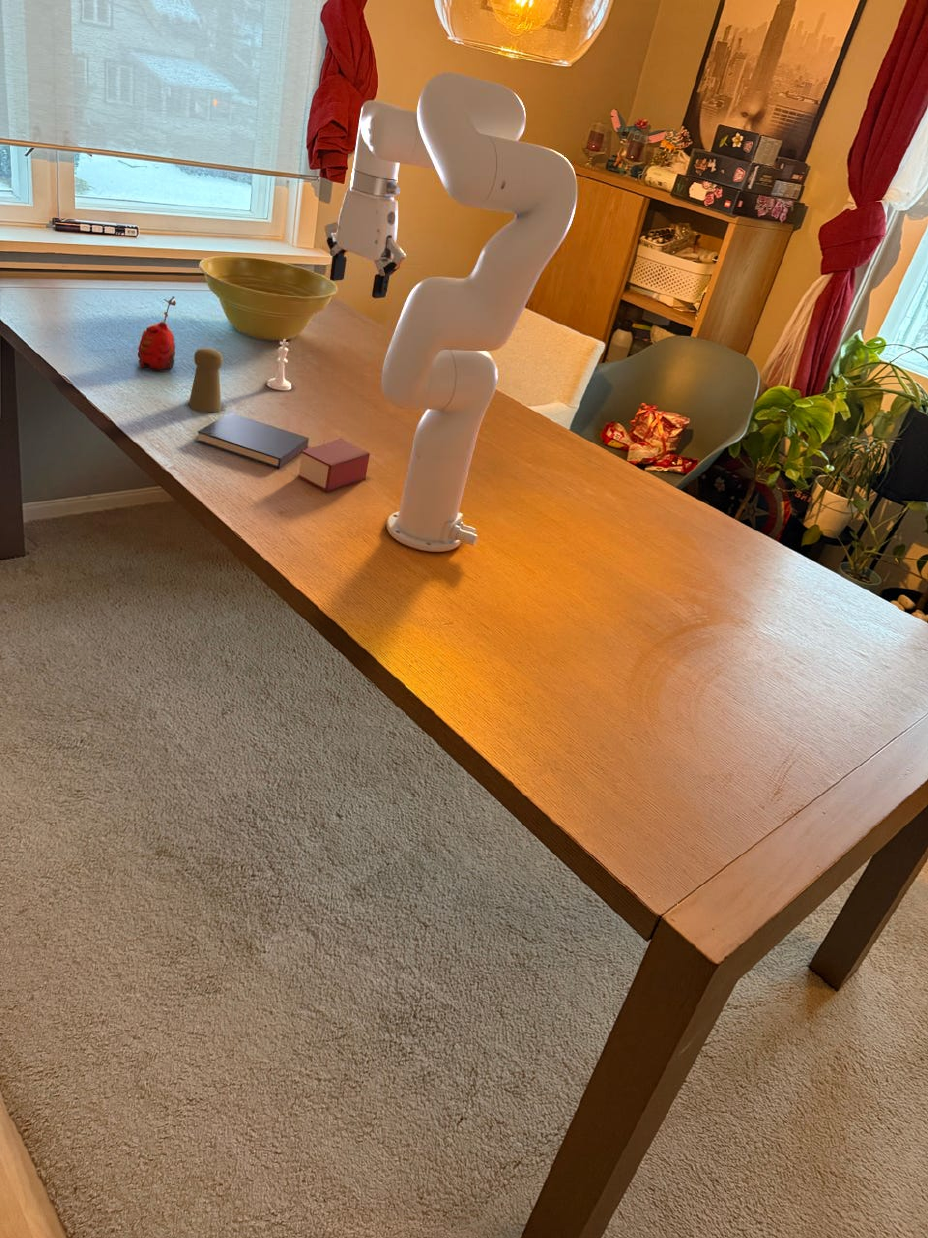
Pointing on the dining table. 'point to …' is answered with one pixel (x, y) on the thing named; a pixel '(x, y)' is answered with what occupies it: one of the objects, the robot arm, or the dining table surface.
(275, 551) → the dining table surface
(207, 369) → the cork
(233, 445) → the slate hardcover
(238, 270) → the planter bowl
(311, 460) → the pocket dictionary
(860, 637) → the dining table surface
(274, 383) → the chess piece
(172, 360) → the red clay folk toy
